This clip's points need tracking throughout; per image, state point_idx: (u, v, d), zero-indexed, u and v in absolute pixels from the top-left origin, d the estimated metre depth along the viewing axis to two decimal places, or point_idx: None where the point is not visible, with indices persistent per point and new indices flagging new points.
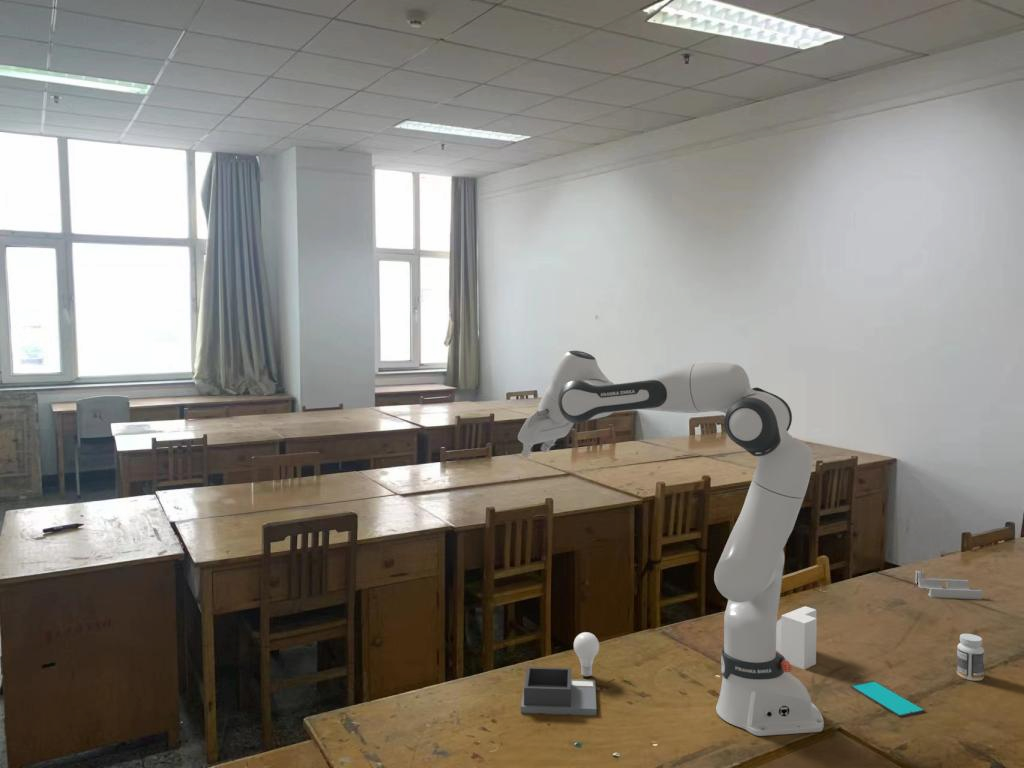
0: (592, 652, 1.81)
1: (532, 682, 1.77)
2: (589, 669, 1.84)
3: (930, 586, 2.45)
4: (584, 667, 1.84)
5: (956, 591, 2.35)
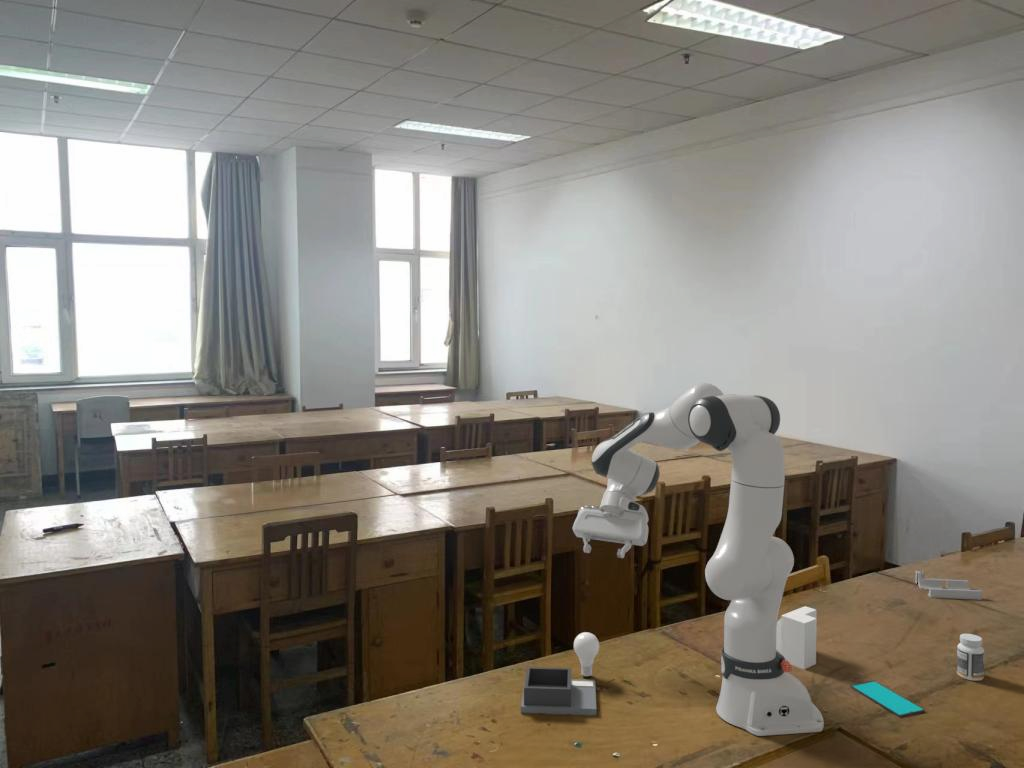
0: (592, 652, 1.81)
1: (532, 682, 1.77)
2: (589, 669, 1.84)
3: (930, 586, 2.45)
4: (584, 667, 1.84)
5: (956, 591, 2.35)
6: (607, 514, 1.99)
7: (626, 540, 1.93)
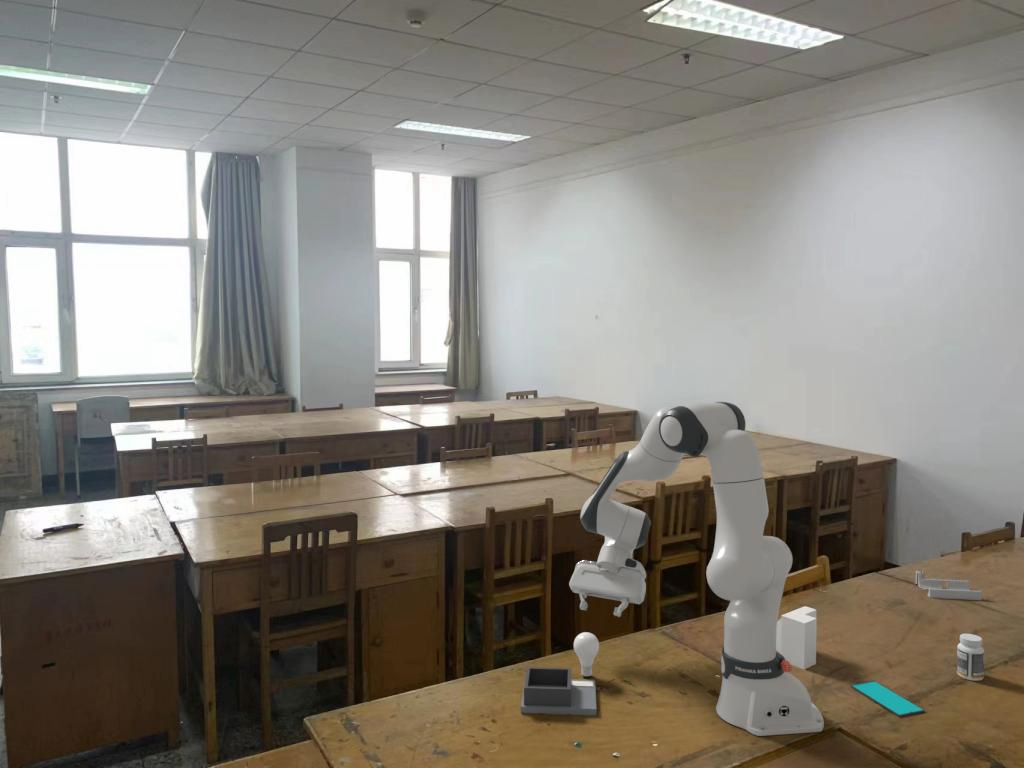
0: (592, 652, 1.81)
1: (532, 682, 1.77)
2: (589, 669, 1.84)
3: (930, 586, 2.44)
4: (584, 667, 1.84)
5: (955, 592, 2.35)
6: (604, 570, 1.96)
7: (623, 598, 1.90)
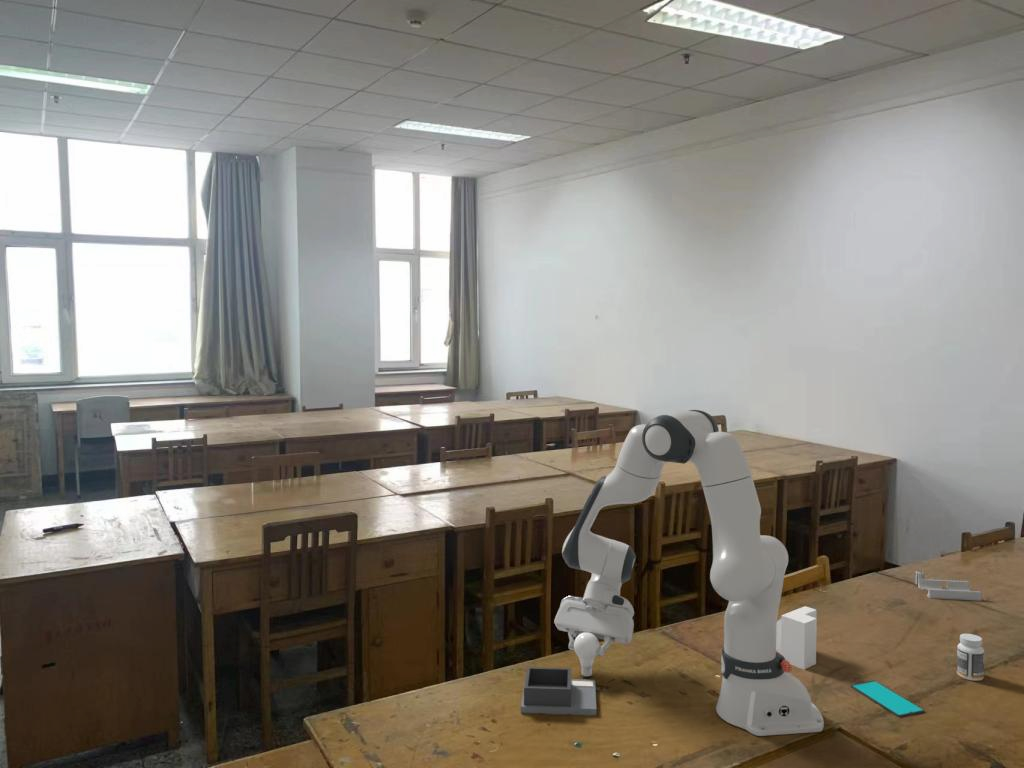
0: (592, 652, 1.81)
1: (532, 682, 1.77)
2: (589, 669, 1.84)
3: (930, 587, 2.44)
4: (584, 667, 1.84)
5: (955, 592, 2.34)
6: (590, 607, 1.89)
7: (606, 637, 1.83)
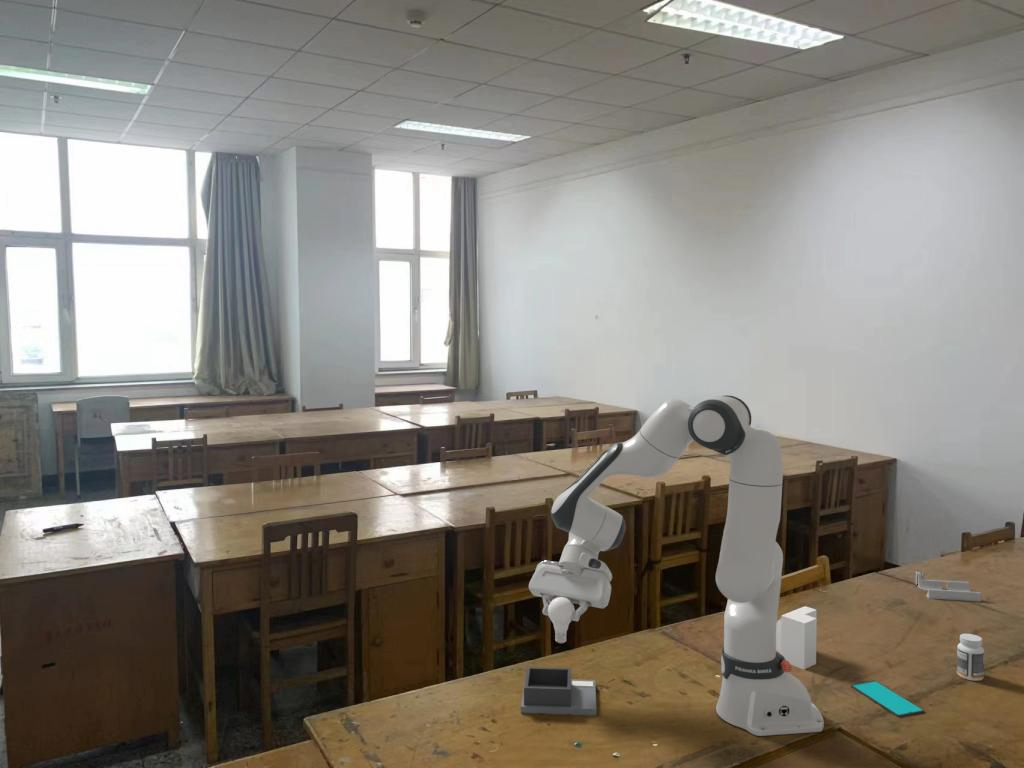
0: (566, 617, 1.73)
1: (532, 682, 1.77)
2: (563, 635, 1.75)
3: (930, 587, 2.44)
4: (558, 633, 1.75)
5: (954, 593, 2.34)
6: (566, 571, 1.80)
7: (581, 601, 1.75)
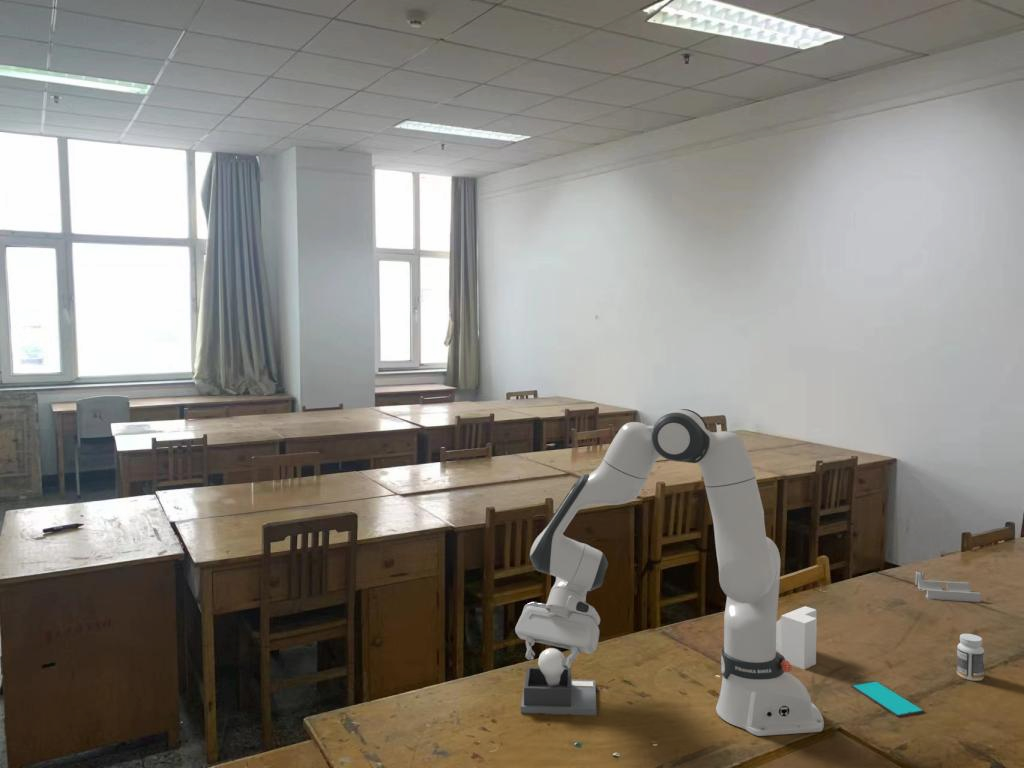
0: (557, 669, 1.69)
1: (532, 682, 1.77)
2: None
3: (930, 588, 2.43)
4: (550, 686, 1.71)
5: (954, 593, 2.33)
6: (553, 615, 1.76)
7: (573, 647, 1.71)
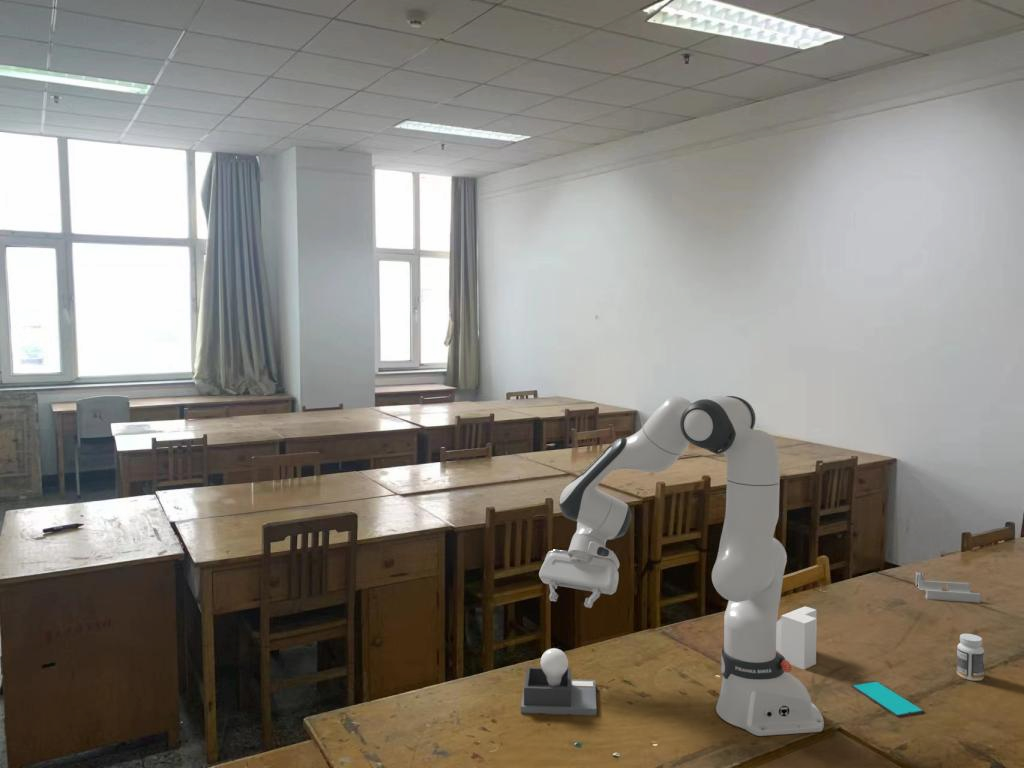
0: (559, 670, 1.69)
1: (532, 682, 1.77)
2: None
3: (929, 588, 2.43)
4: (551, 686, 1.71)
5: (953, 594, 2.33)
6: (575, 559, 1.87)
7: (594, 588, 1.81)
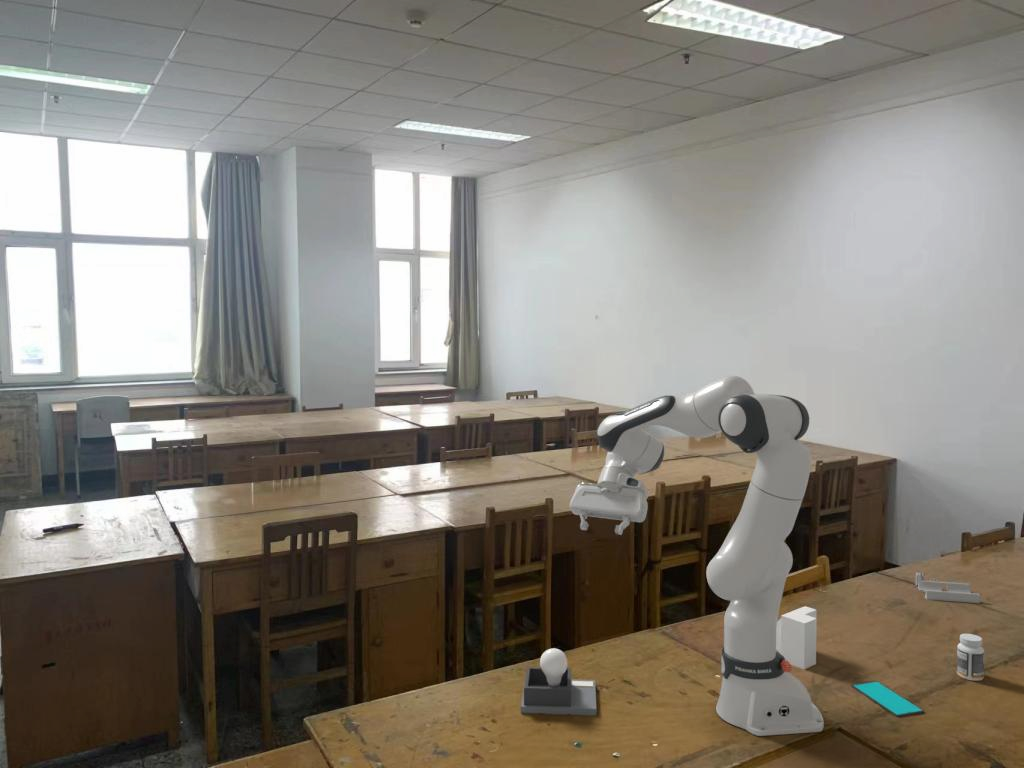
0: (559, 670, 1.69)
1: (532, 682, 1.77)
2: None
3: (929, 588, 2.42)
4: (551, 686, 1.71)
5: (953, 594, 2.33)
6: (605, 490, 1.92)
7: (624, 516, 1.87)
